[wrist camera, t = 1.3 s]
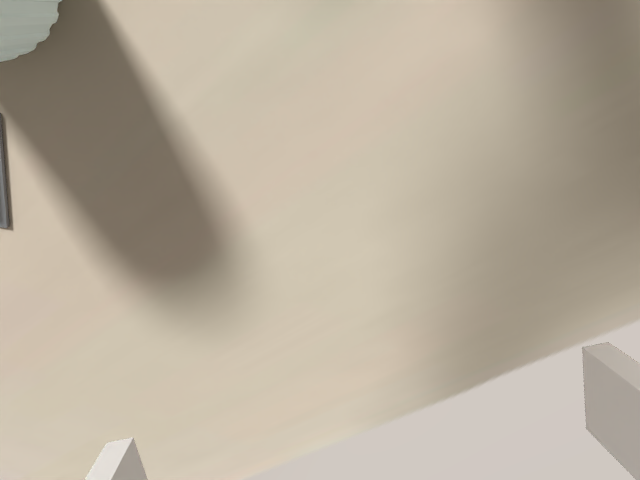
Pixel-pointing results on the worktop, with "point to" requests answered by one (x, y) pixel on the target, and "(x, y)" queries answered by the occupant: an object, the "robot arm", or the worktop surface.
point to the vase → (24, 25)
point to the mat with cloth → (3, 186)
